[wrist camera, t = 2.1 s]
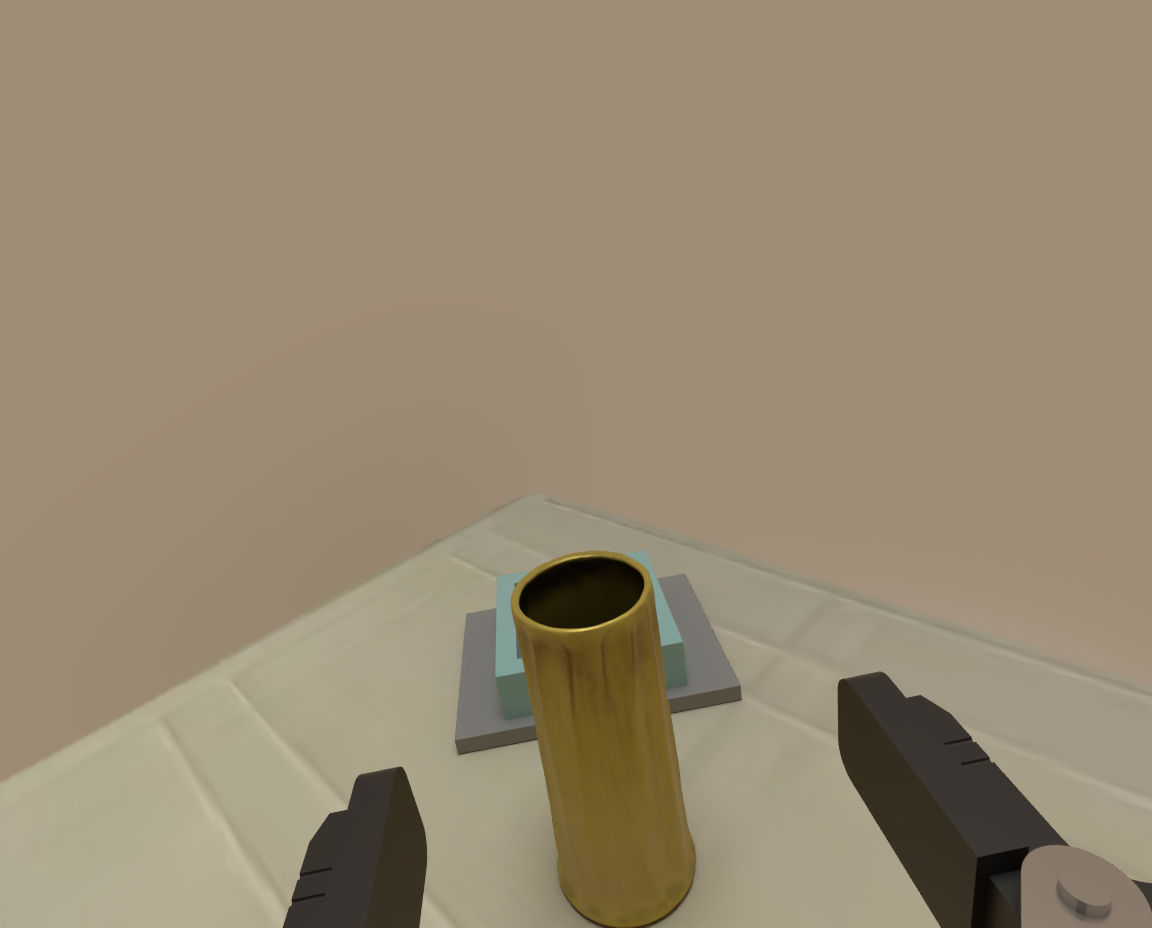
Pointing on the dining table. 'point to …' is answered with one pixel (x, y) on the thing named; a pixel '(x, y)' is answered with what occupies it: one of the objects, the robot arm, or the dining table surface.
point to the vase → (605, 735)
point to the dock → (498, 680)
